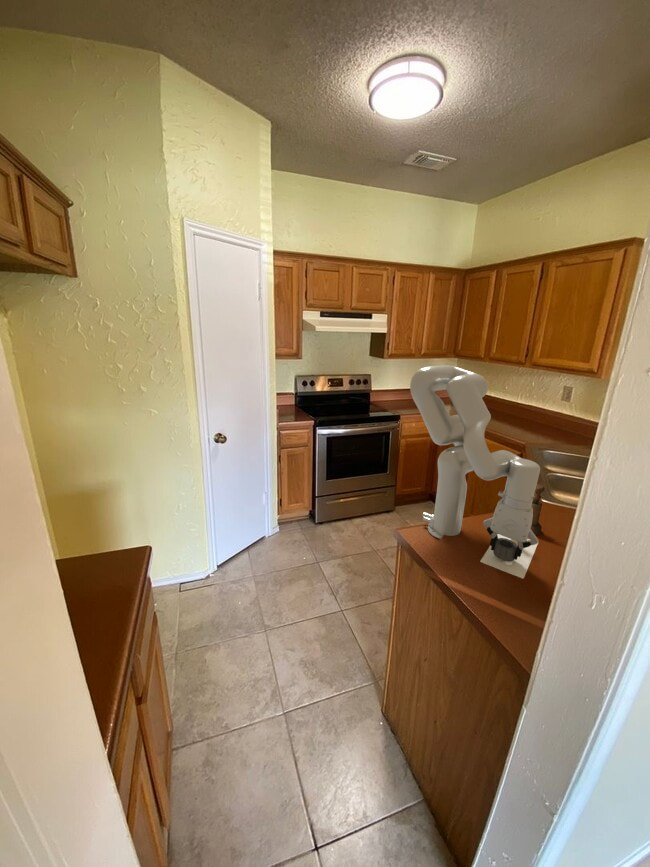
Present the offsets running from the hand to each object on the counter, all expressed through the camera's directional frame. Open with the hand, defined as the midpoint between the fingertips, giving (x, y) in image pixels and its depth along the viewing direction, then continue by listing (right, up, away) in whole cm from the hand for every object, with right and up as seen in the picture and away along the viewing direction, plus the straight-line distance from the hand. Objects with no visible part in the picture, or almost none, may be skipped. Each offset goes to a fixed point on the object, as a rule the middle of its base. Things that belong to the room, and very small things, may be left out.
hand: (504, 552), depth 111 cm
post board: (+4, -3, +5) cm, 7 cm away
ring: (0, -1, 0) cm, 1 cm away
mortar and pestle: (+19, +1, +20) cm, 28 cm away
